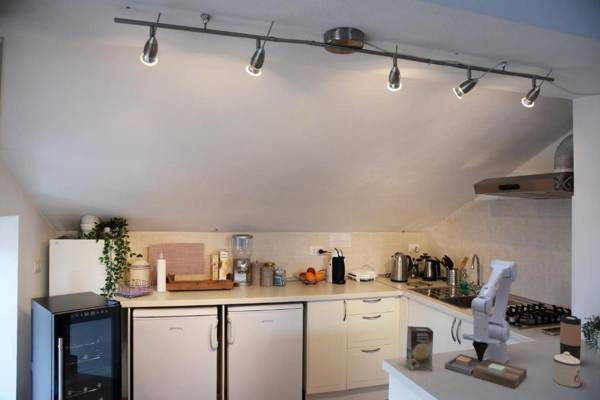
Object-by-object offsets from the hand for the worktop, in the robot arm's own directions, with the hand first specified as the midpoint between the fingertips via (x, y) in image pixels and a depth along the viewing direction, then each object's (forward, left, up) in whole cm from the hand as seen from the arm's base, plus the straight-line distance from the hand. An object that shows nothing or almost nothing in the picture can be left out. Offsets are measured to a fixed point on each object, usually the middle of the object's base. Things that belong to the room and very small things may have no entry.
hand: (480, 360), depth 171 cm
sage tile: (+6, +9, -1) cm, 11 cm away
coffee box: (+17, -18, -4) cm, 26 cm away
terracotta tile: (0, -6, -1) cm, 7 cm away
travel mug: (-37, +26, -4) cm, 45 cm away
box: (+2, -5, -4) cm, 7 cm away
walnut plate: (+2, +9, -4) cm, 10 cm away
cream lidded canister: (-12, +28, -4) cm, 31 cm away
